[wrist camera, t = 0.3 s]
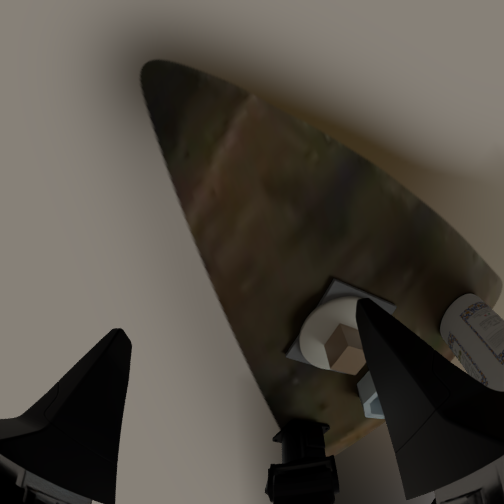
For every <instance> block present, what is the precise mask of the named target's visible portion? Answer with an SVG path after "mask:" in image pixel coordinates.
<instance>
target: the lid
mask: <svg viewBox="0 0 504 504" xmlns="http://www.w3.org/2000/svg"><path fill="white" fill-rule="evenodd" d="M358 299H362V298H361V297H356V296H346V297H339V298H336V299H332V300H330V301H328V302H326V303H324V304H322V305H320V306H319V307H317V308H316V309H315V310H314V311H312V312H311V313H310V315H309V316H308V317H307V318H306V320H305V321H304V323H303V325H302V327H301V330H300V334H299V343H300V349H301V352H302V354H303V356H304V358H305V359H306V360H307V361H308V362H309V363H311V364H312V365H314V366H316V367H319V368H322V369H328V370H336V371H340V372H344V373H348V374H352V375H356V374H357V373H358V372H359V370H360V369H361V368H362V367H363V366H364V364H365V363H366V360H365V357H364V353H363V348H362V344H361V340H360V336H359V332H358V327H357V323H356V318H355V315H356V305H357V300H358Z"/></svg>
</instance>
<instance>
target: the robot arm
mask: <svg viewBox="0 0 504 504" xmlns="http://www.w3.org/2000/svg"><path fill="white" fill-rule="evenodd" d="M355 318H356V323H357V327H358V332H359V336H360V340H361V344H362V348H363V353H364V357H365V360H366V363H367V366H368V369H369V371H370V374H371V377H372V380H373V383H374V386H375V389H376V392H377V395H378V398H379V401H380V404H381V407H382V411H383V414H384V417H385V420H386V424H387V427H388V430H389V434H390V437H391V441H392V444H393V448H394V451H395V453H396V454H395V455H396V459H397V463H398V467H399V471H400V475H401V479H402V483H403V488H404V492H405V497H406V500H409V499H412V498H415V497H418V496H421V495H424V494H426V493H429V492H431V491H434V493H435V499H434V500H433V502H432V503H431V504H504V392H503V391H496V390H493V389H491V388H489V387H487V386H485V385H484V384H482V383H481V382H479V381H478V380H476V379H475V378H473V377H472V376H470V375H468V374H467V373H465V372H464V371H462V370H461V369H460V368H458V367H457V366H455V365H454V364H452V363H451V362H450V361H448V360H447V359H446V358H445V357H443V356H442V355H441V354H440V353H438V352H437V351H436V350H434V349H433V348H432V347H431V346H430V345H428V344H427V343H426V342H425V341H424V340H422V339H421V338H420V337H419V336H417V335H416V334H415V333H414V332H412V331H411V330H410V329H409V328H407V327H406V326H405V325H403V324H402V323H401V322H400V321H398V320H397V319H396V318H395V317H393V316H392V315H391V314H389V313H388V312H387V311H386V310H384V309H383V308H382V307H380V306H379V305H378V304H376V303H375V302H374V301H373V300H371V299H370V298H362V299H358V300H357V305H356V315H355ZM131 350H132V344H131V341H130V339H129V338H128V336H127V335H126V334H125V332H124V330H123V329H121V328H118V329H117V328H115V329H112V330H111V331H110V332H109V333H108V334H107V335H106V336H104V337H103V338H102V339H101V340H100V341H99V342H98V343H97V344H96V345H95V346H94V347H93V348H92V349H91V350H90V351H89V352H88V353H87V354H86V355H85V356H84V357H83V358H81V359H80V360H79V362H77V363H76V364H75V365H74V366H73V367H72V368H71V369H70V370H69V371H68V372H67V373H66V374H65V375H64V376H63V377H62V378H61V379H60V380H59V382H57V383H56V384H55V385H54V386H53V387H52V388H51V389H50V390H49V391H48V392H47V393H46V394H45V395H44V396H43V397H42V398H40V399H39V400H38V401H37V402H36V403H35V404H34V405H33V406H31V407H30V408H29V409H28V410H27V411H26V412H25V413H23V414H22V415H21V416H18V417H16V418H10V419H0V504H91V503H92V500H94V501H97V502H100V503H103V504H115V494H116V493H115V492H116V475H117V461H118V451H119V442H120V433H121V425H122V418H123V411H124V405H125V399H126V393H127V387H128V381H129V372H130V360H131ZM329 429H330V426H329V425H324V424H318V423H312V422H306V421H301V420H296V419H293V420H291V421H290V422H289V423H288V424H287V425H286V426H285V427H284V428H283V429H282V430H281V431H280V432H278V433H277V434H276V435H275V436H274V437H273V441H274V442H280V443H282V464H271V466H270V469H268V481H267V485H266V488H265V493H266V494H267V495H268V496H269V498H270V501H271V502H273V504H335V496H334V494H338V493H339V482H338V475H337V470H336V465H335V459H334V455H331V456H329V457H326V455H325V442H324V435H323V434H324V433H325V432H327V431H328V430H329Z"/></svg>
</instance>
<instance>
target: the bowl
mask: <svg viewBox="0 0 504 504" xmlns="http://www.w3.org/2000/svg"><path fill="white" fill-rule="evenodd" d="M357 388H358V392H359V397H360V401H361V404H362V407H363V410H364V414H365V417H369V418H378V419H384V418H385V417H384V414H383V411H382V407H381V404H380V401H379V398H378V395H377V392H376V389H375V386H374V383H373V380H372V377H371V374H370V371H368V372H367V373H366V374H365V376H364V377H363V378H362V379H361V380H360V381H359V382H358V383H357Z"/></svg>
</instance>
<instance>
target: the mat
mask: <svg viewBox="0 0 504 504" xmlns="http://www.w3.org/2000/svg"><path fill="white" fill-rule="evenodd" d="M346 296H356V297H361V298H370V299H371V300H373V301H374V302H375V303H376V304H378V305H379V306H380V307H382V308H383V309H384V310H386V311H387V312H388V313H389V314H391V315H392V313H393V312H394V310H395V309H396V308H397V307H396V305H395V304H393V303H390V302H388V301H386V300H383V299H381V298H379V297H376V296H374V295H372V294H370V293H367V292H365V291H363V290H360V289H358V288H356V287H353V286H351V285H349V284H346V283H344V282H342V281H339V280H337V279H335V278H334V279H333V280H332V282H331V284H330V285H329V287H328V289H327V290H326V292H325V294H324V295H323V297H322V299H321V300H320V302H319V304H318V305H317V307H319V306H320V305H322V304H324V303H326V302H328V301H330V300H332V299H336V298H339V297H346ZM317 307H316V308H317ZM316 308H315V309H316ZM299 334H300V333H299ZM286 357H287V358H290V359H294V360H297V361H300V362H304V363H307V364H311V363H309V362H308V361H307V360H306V359H305V358H304V356H303V354H302V352H301V349H300V343H299V335H298V336H297V338H296V339H295V341H294V342H293V344H292V345H291V347H290V348H289V350H288V351H287V353H286ZM311 365H312V364H311ZM332 371H336V370H332ZM336 372H340V371H336ZM340 373H344V372H340ZM344 374H346V373H344Z"/></svg>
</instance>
